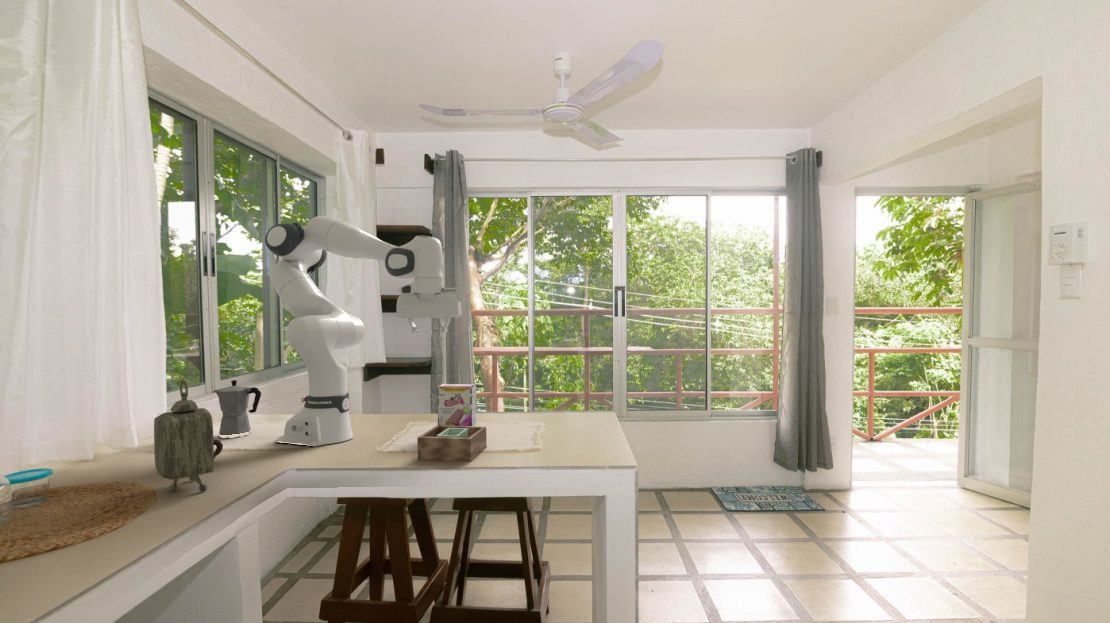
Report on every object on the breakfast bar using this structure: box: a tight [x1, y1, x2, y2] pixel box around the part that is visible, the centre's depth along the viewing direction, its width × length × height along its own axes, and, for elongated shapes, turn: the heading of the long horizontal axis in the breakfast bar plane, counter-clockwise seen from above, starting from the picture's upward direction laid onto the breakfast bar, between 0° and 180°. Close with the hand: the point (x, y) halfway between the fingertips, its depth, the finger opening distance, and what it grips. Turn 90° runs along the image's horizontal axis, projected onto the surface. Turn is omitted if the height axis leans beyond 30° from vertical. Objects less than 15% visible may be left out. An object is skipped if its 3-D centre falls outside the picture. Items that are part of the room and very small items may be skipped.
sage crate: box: [437, 428, 469, 438], centre depth 148 cm, size 6×9×5 cm, turn 171°
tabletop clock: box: [153, 379, 215, 492], centre depth 121 cm, size 14×9×25 cm, turn 45°
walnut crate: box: [417, 424, 488, 463], centre depth 148 cm, size 15×14×6 cm
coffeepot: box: [213, 379, 262, 435], centre depth 172 cm, size 15×9×18 cm, turn 88°
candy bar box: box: [437, 383, 477, 427], centre depth 167 cm, size 11×5×16 cm, turn 84°
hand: (429, 332), depth 164 cm, fingers open, 8 cm apart
